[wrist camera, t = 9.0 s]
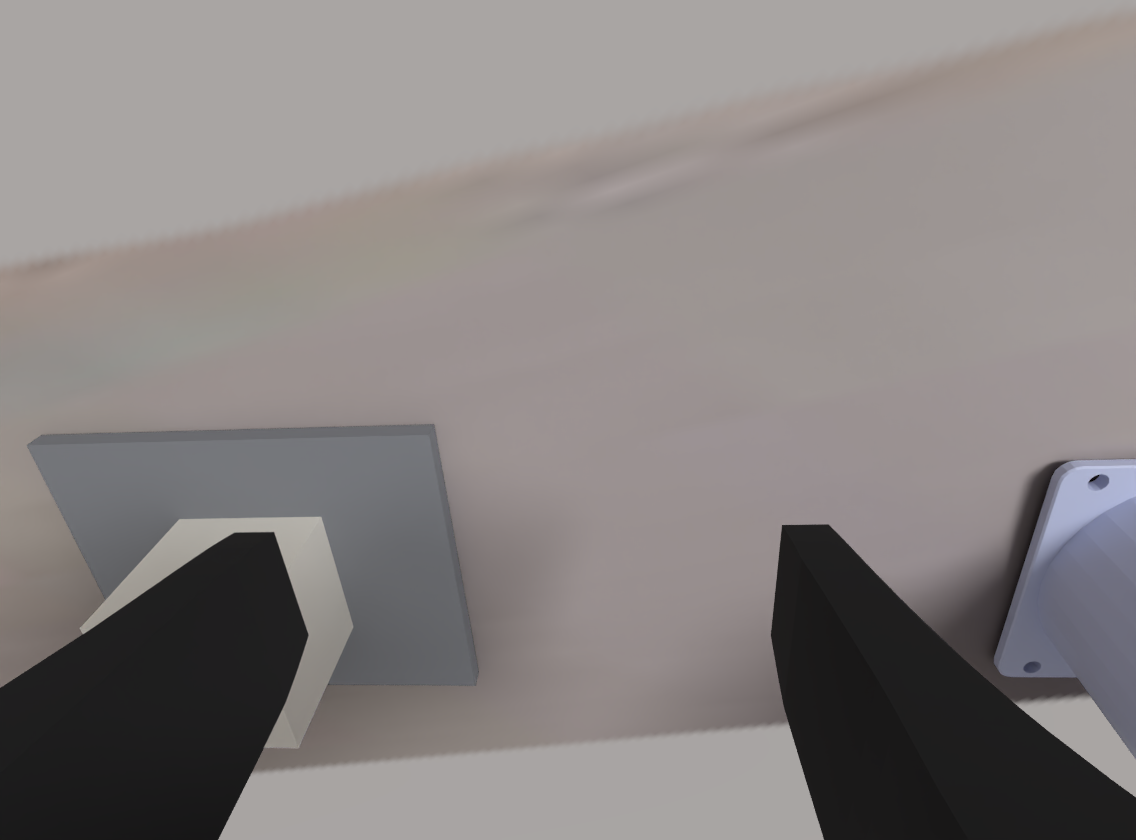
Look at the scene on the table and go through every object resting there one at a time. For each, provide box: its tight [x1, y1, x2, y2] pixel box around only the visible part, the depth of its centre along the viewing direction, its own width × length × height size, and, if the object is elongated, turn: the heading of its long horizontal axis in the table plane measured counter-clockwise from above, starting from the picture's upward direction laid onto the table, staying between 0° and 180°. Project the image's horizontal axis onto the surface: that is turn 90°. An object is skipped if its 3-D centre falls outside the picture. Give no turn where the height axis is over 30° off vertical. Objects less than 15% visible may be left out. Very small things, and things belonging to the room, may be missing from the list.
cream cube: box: [80, 517, 353, 748], centre depth 20 cm, size 4×4×4 cm
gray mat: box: [27, 424, 479, 686], centre depth 22 cm, size 12×10×1 cm
